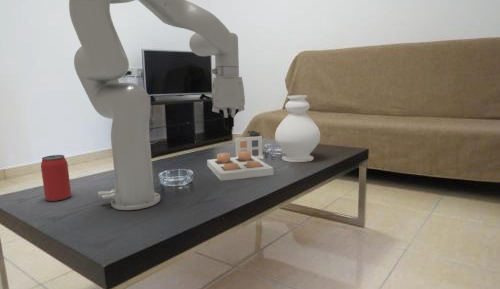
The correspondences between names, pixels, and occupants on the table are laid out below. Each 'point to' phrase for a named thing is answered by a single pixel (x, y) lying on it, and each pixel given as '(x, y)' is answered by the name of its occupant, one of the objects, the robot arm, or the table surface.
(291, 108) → the decorative vase
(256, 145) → the pattern card
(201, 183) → the table surface
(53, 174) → the beer can
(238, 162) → the button board
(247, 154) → the button back right
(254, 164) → the button front right
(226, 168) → the button front left
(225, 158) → the button back left
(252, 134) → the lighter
